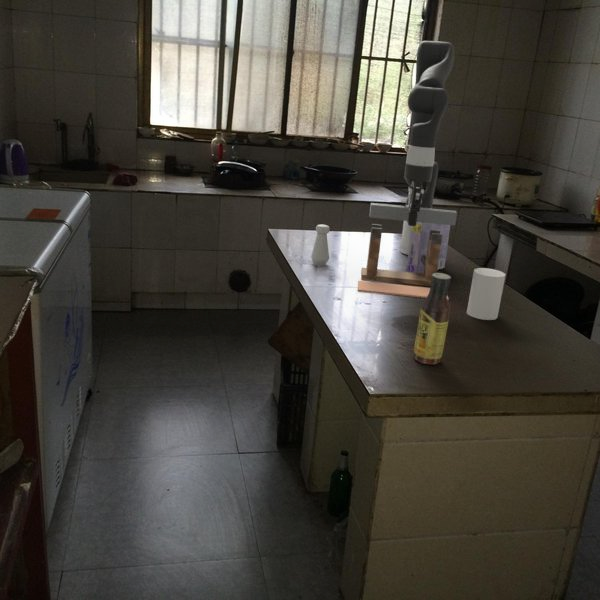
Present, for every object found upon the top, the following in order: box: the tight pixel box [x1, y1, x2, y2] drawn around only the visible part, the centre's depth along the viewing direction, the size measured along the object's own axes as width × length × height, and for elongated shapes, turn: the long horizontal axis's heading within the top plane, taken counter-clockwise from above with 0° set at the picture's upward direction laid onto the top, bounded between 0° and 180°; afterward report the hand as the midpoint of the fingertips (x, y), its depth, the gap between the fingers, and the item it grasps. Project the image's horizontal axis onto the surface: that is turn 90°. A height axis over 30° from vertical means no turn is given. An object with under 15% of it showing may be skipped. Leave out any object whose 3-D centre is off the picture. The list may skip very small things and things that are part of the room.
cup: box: [466, 267, 506, 321], centre depth 175 cm, size 8×8×12 cm
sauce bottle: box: [413, 272, 452, 366], centre depth 140 cm, size 6×6×20 cm
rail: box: [369, 202, 458, 226], centre depth 184 cm, size 24×3×4 cm, turn 85°
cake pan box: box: [405, 222, 451, 274], centre depth 212 cm, size 19×5×18 cm, turn 139°
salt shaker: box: [310, 224, 330, 267], centre depth 210 cm, size 6×6×13 cm
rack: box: [360, 223, 442, 287], centre depth 200 cm, size 24×8×16 cm, turn 85°
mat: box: [357, 280, 450, 301], centre depth 191 cm, size 26×9×1 cm, turn 85°
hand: (411, 224), depth 185 cm, fingers closed on rail, 3 cm apart
